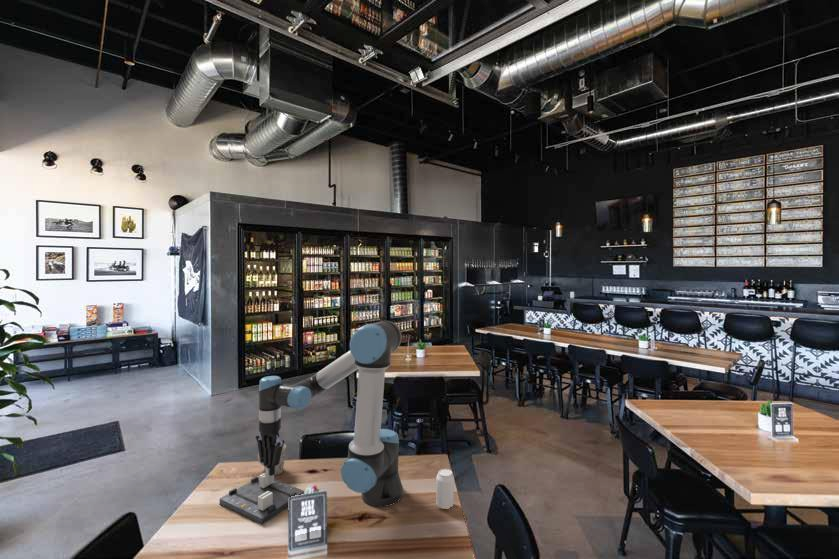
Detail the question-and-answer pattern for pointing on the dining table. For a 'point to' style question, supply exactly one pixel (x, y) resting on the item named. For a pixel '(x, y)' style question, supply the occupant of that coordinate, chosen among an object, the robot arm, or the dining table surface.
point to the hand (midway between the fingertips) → (269, 482)
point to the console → (247, 499)
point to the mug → (281, 464)
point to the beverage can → (444, 488)
